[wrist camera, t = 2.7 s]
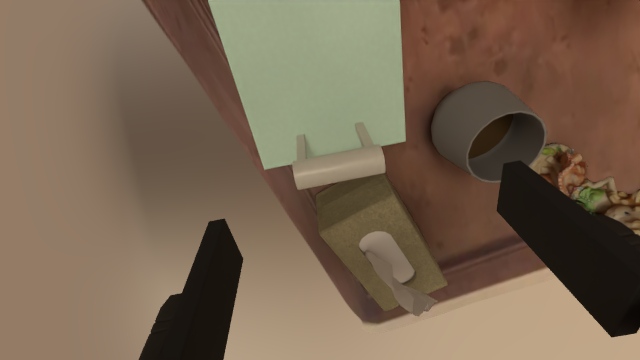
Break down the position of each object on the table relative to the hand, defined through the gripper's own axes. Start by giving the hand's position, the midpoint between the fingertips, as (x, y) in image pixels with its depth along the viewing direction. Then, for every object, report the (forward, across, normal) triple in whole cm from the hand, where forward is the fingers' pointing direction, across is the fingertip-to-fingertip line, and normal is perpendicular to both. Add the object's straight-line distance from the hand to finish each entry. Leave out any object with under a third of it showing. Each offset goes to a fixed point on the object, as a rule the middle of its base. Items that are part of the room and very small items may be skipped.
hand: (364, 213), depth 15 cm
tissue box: (+24, +4, -21) cm, 32 cm away
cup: (+24, +15, -7) cm, 29 cm away
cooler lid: (+13, -1, +6) cm, 15 cm away
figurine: (+24, +27, -18) cm, 40 cm away
